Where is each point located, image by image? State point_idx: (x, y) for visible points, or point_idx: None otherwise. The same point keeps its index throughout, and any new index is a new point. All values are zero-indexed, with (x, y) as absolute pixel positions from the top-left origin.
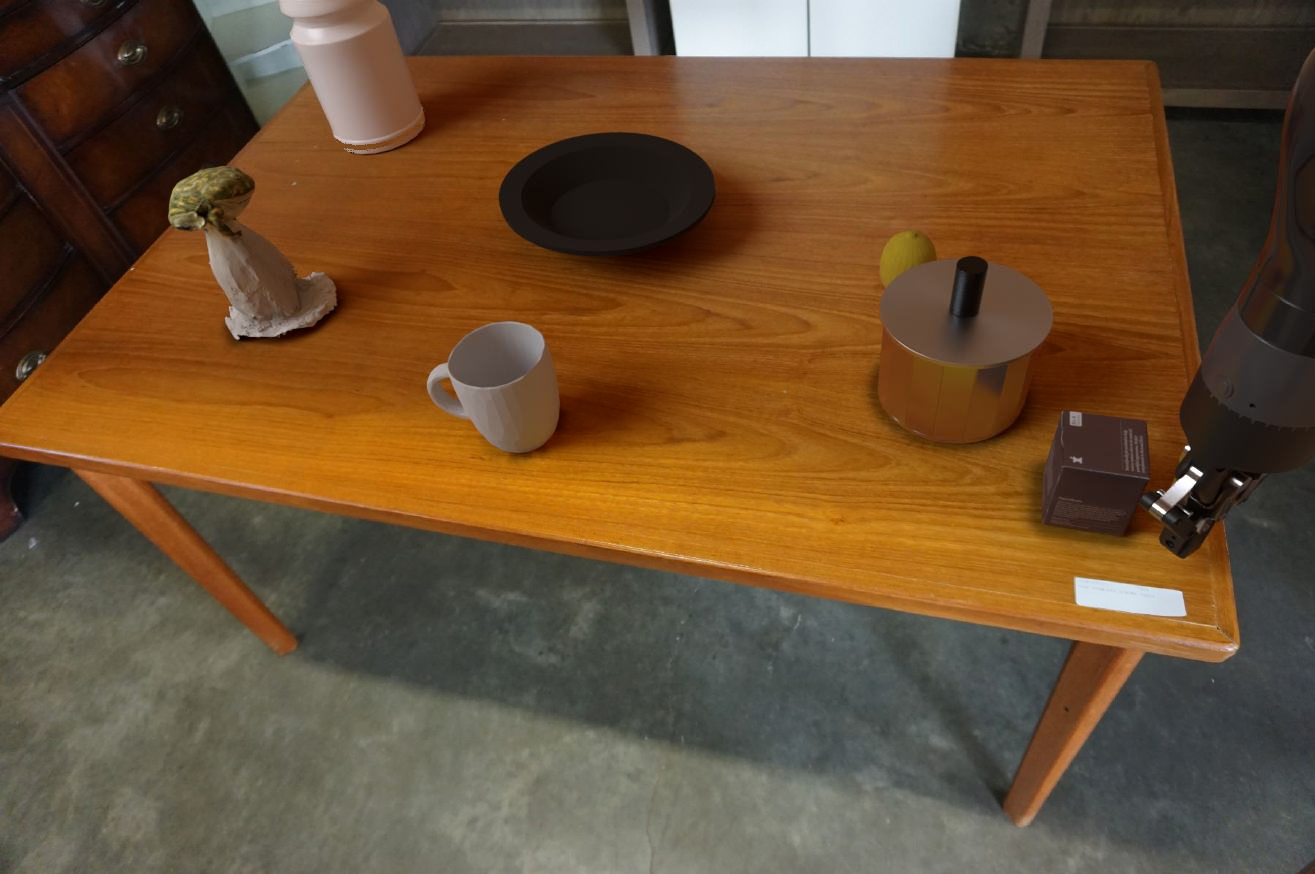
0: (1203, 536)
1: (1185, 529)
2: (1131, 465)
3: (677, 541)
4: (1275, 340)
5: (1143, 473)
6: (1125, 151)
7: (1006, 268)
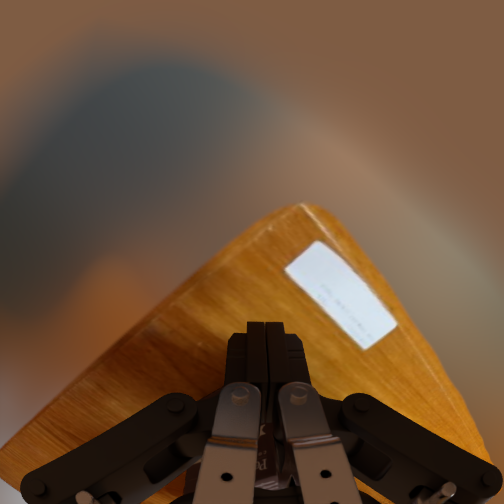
0: (263, 355)
1: (416, 441)
2: (274, 488)
3: (478, 447)
4: None
5: (275, 480)
6: (8, 467)
7: None
